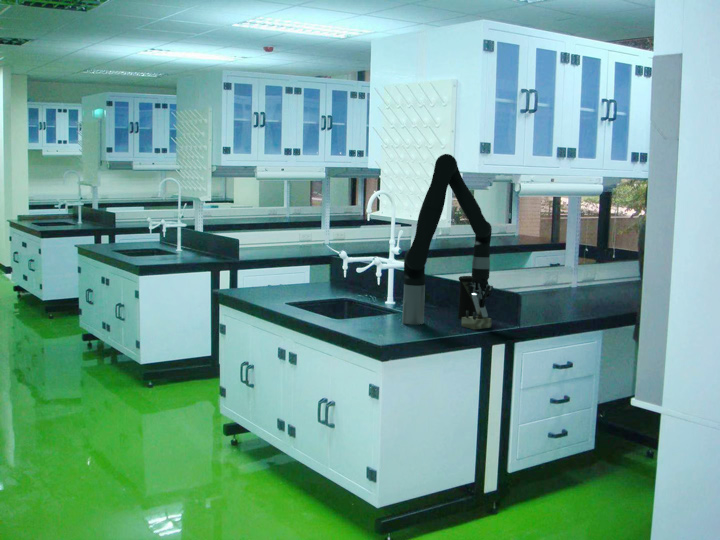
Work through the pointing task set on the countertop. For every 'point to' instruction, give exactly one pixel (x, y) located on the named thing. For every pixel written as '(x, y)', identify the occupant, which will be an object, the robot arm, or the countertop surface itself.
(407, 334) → the countertop surface
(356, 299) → the countertop surface
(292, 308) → the countertop surface
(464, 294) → the container
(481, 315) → the grey rectangular bar
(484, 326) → the slot block
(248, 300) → the countertop surface
